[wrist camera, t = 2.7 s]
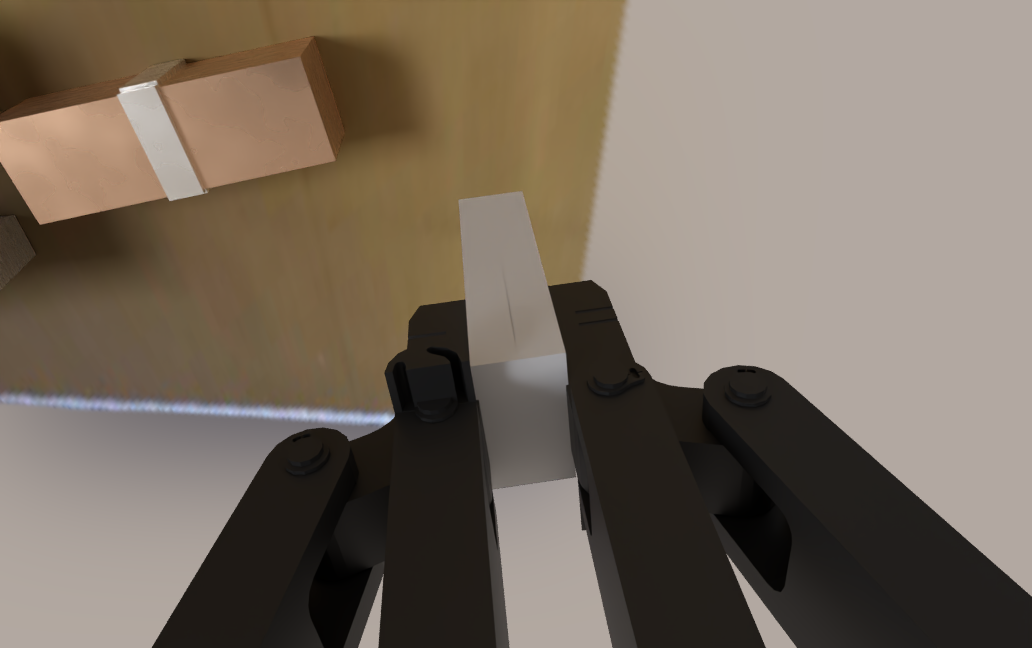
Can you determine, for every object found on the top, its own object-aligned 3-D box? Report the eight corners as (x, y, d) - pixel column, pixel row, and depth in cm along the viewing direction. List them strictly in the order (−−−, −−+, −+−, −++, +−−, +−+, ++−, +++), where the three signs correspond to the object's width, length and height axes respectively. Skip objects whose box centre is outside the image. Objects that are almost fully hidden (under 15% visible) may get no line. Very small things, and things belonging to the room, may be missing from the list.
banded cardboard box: (83, 190, 31) (40, 232, 28) (27, 91, 29) (-29, 122, 25) (347, 133, 31) (336, 168, 27) (312, 28, 28) (296, 51, 25)
